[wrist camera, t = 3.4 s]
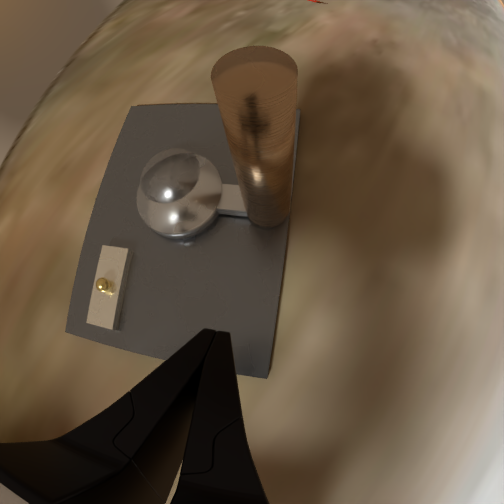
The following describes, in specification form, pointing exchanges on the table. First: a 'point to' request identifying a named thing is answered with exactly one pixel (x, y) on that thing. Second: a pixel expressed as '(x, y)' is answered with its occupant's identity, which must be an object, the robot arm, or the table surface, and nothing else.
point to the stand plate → (176, 254)
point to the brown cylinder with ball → (231, 151)
